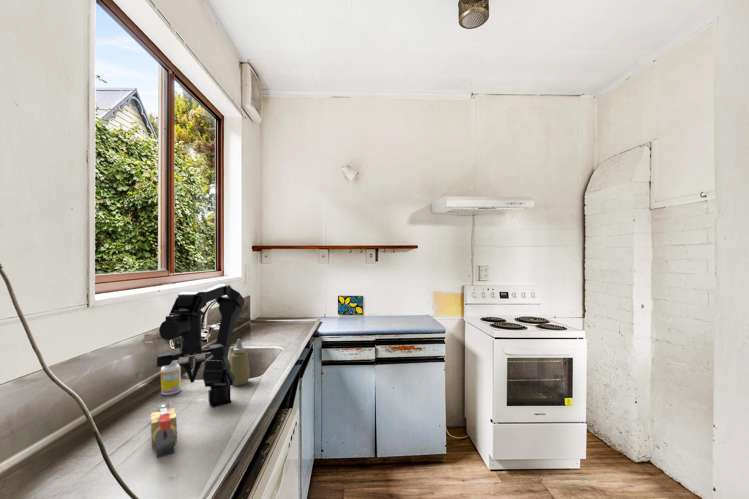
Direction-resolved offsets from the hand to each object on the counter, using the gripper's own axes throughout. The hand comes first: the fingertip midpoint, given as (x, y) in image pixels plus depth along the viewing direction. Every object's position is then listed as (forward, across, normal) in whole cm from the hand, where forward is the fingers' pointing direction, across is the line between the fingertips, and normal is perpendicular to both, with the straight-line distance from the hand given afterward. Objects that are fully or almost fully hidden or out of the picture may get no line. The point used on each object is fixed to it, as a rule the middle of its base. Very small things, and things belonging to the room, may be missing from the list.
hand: (192, 382), depth 108 cm
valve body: (+13, +8, +5) cm, 16 cm away
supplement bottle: (+13, +4, -34) cm, 37 cm away
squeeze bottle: (+13, -20, -27) cm, 36 cm away
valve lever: (+5, +8, +11) cm, 14 cm away
